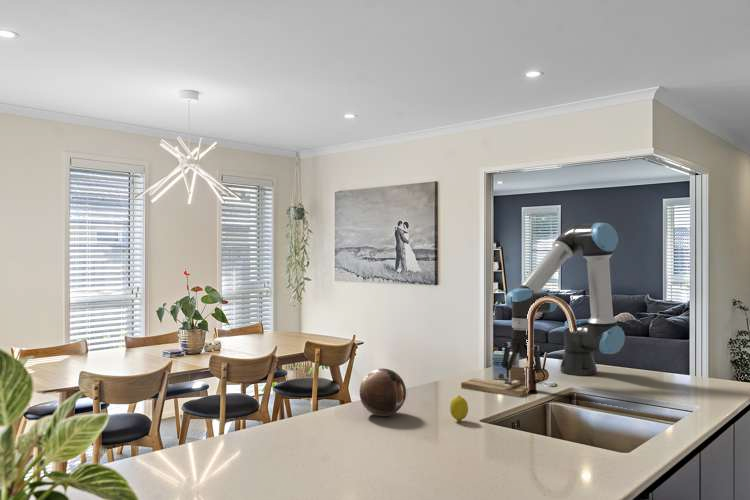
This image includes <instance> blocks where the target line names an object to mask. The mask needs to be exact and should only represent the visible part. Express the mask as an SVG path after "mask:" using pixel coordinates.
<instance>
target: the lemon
mask: <svg viewBox="0 0 750 500" xmlns="http://www.w3.org/2000/svg"><path fill="white" fill-rule="evenodd" d="M449 411H450V415H451V416H452V418H453V419H455V420H456V421H457V422H461V421H462V420H463V419H466V417H467V416H468V412H469V405H468V402H467V400H466V399H465V398H464V397H462V396H461V395H457V396H456V397H454V398H453V399H452V400H451V401H450V406H449Z"/></svg>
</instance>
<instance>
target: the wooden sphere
mask: <svg viewBox="0 0 750 500" xmlns="http://www.w3.org/2000/svg"><path fill="white" fill-rule="evenodd" d="M406 388H407V387H406V384H405V382H404V380H403V378H402V377H401V376H400V375H399V374H398V373H397V372H396V371H393V370H391V369H388V368H376V369H373V370H372V371H370V372H369V373H368V374H366V375H365V376H364V377H363V379H362V381H361V382H360V387H359V397H360V401H361V404H362V405H363V407H364V408H365V409H366V411H368V412H369V413H370V414H372V415H375V416H378V417H389V416H392V415H394V414H395V413H397V412H398V411H399V410H400V409H401V408H402V406H403V405H404V403H405V402H406V401H405V400H406V396H407V390H406Z"/></svg>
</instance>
